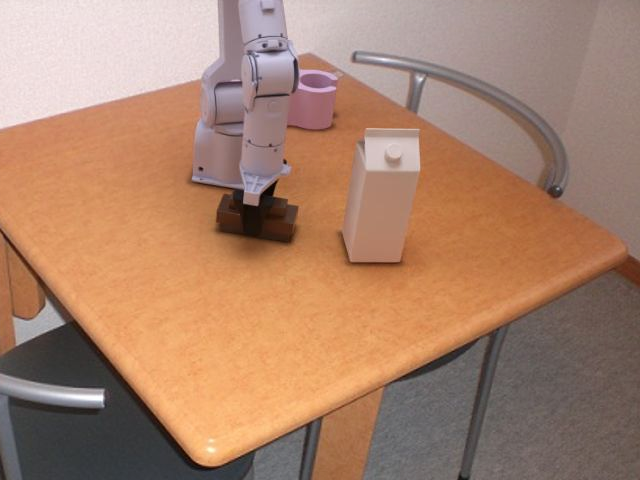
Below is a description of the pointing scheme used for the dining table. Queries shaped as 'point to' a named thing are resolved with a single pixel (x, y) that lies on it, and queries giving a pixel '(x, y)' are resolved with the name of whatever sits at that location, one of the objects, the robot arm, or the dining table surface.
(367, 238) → the milk carton
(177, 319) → the dining table surface
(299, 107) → the clip
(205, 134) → the robot arm
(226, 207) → the brush
